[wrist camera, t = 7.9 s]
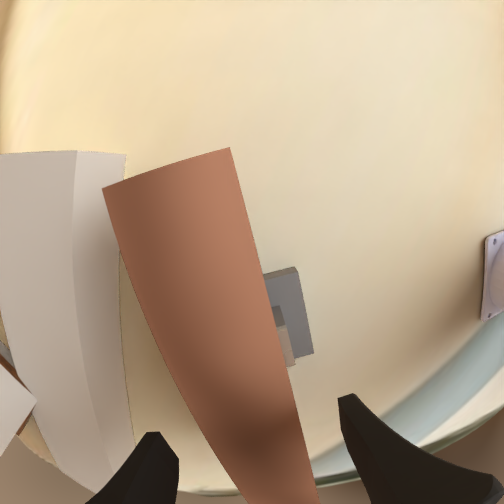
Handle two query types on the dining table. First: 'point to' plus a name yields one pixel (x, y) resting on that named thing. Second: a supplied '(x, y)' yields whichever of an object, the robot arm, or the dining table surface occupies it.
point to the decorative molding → (66, 305)
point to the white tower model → (12, 400)
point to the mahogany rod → (214, 319)
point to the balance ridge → (289, 313)
